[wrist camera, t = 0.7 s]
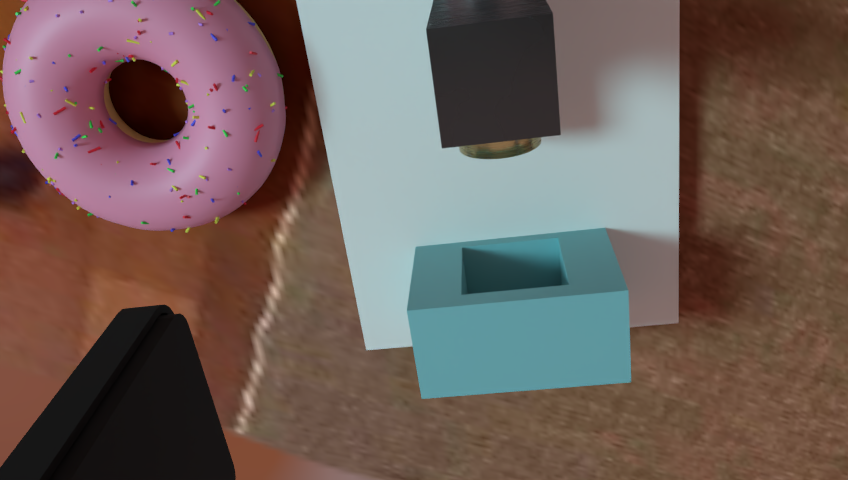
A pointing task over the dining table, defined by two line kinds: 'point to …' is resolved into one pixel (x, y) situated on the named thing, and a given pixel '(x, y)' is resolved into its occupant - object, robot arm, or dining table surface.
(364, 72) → the base board
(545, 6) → the silver bolt with handle
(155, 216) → the doughnut
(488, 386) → the socket
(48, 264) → the dining table surface
